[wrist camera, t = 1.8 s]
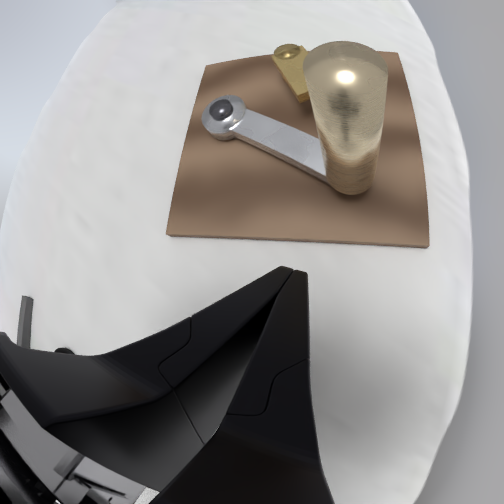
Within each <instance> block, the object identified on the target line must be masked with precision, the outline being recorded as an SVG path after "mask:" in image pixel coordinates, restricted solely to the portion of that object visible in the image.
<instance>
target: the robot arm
mask: <svg viewBox="0 0 504 504" xmlns="http://www.w3.org/2000/svg"><path fill="white" fill-rule="evenodd" d="M309 359H310V329H309V294H308V274H307V273H306V272H303V271H299V270H293V269H292V268H288V267H284V266H280V267H278V268H276V269H274V270H272V271H271V272H269V273H267V274H265V275H264V276H262V277H260V278H258V279H257V280H255V281H253V282H251V283H250V284H248V285H246V286H244V287H242V288H241V289H239V290H237V291H235V292H233V293H232V294H230V295H228V296H226V297H225V298H223V299H221V300H219V301H217V302H215V303H214V304H212V305H210V306H208V307H206V308H205V309H203V310H201V311H199V312H197V313H195V314H194V315H192V316H191V317H188V318H186V319H184V320H182V321H180V322H179V323H177V324H175V325H173V326H171V327H169V328H167V329H165V330H163V331H160V332H158V333H156V334H153V335H151V336H149V337H146V338H144V339H141V340H139V341H136V342H134V343H131V344H129V345H126V346H124V347H121V348H119V349H116V350H114V351H111V352H108V353H105V354H101V355H94V356H83V355H73V354H64V353H56V352H48V351H41V350H34V349H29V348H24V347H21V346H18V345H16V344H15V343H13V342H12V341H11V340H10V338H9V337H8V336H7V334H6V333H5V332H0V504H58V503H57V502H55V501H56V500H58V501H59V502H60V503H61V504H134V503H135V502H136V500H137V499H138V497H139V496H140V495H141V493H142V492H143V491H144V489H145V488H146V487H148V488H151V489H153V490H156V491H158V492H160V493H159V494H158V495H157V496H156V497H155V498H154V499H153V500H152V501H151V502H150V503H149V504H335V503H334V500H333V497H332V495H331V492H330V489H329V487H328V484H327V481H326V478H325V476H324V472H323V469H322V465H321V460H320V455H319V448H318V441H317V434H316V427H315V420H314V413H313V406H312V397H311V385H310V360H309ZM220 423H221V424H220ZM219 425H220V426H219ZM218 426H219V427H218ZM217 428H218V429H217ZM216 429H217V431H216ZM215 431H216V432H215ZM214 432H215V434H214ZM213 434H214V435H213ZM212 435H213V436H212ZM210 438H211V439H210Z"/></svg>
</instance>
